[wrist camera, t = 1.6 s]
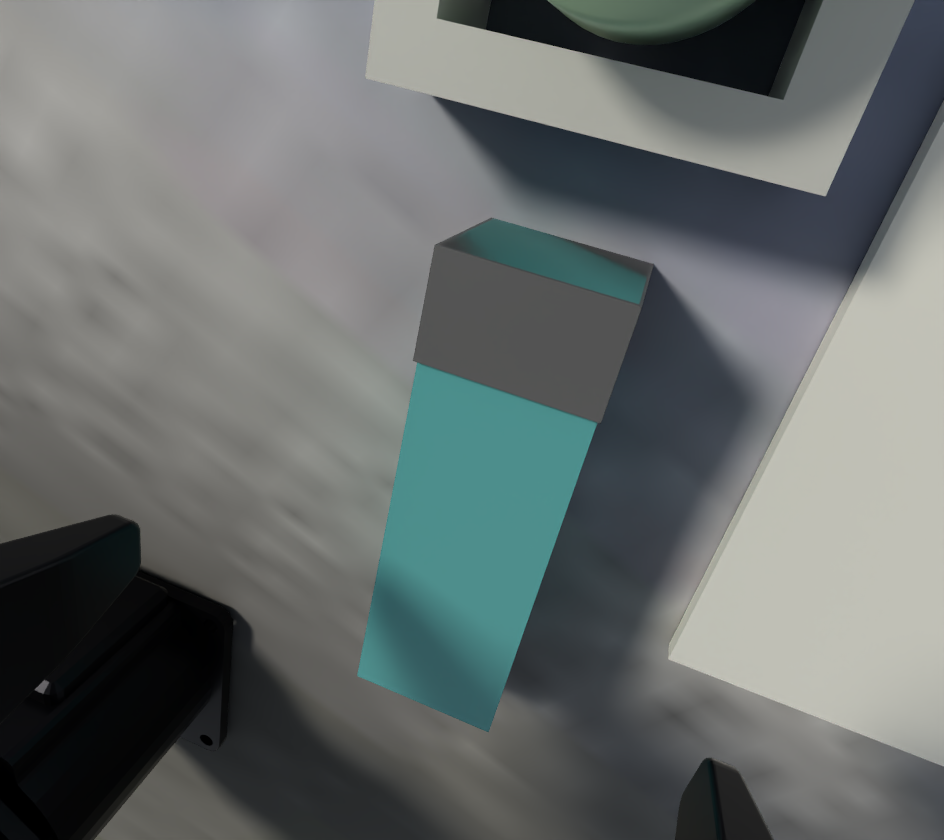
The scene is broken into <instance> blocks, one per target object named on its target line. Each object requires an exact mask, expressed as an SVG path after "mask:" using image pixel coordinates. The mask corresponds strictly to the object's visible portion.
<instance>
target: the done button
mask: <svg viewBox="0 0 944 840" xmlns="http://www.w3.org/2000/svg"><path fill="white" fill-rule="evenodd" d="M547 1H548V2H550V3H551V4H552V5H553V6H554V7H556V8H557V9H558V10H559V11H560V12H562V13H563V14H564V15H565V16H566V17H568V18H569V19H570V20H572V21H573V22H575V23H576V24H577V25H579V26H580V27H582V28H583V29H585V30H587V31H589V32H591V33H593V34H595V35H597V36H599V37H602V38H606V39H609V40H612V41H615V42H619V43H626V44H633V45H659V44H666V43H673V42H677V41H681V40H684V39H688V38H691V37H695V36H697V35H700V34H702V33H704V32H707V31H709V30H711V29H713V28H716V27H717V26H719V25H721V24H723V23H724V22H726V21H728V20H729V19H731V18H733V17H735V16H736V15H737V14H739V13H740V12H741V11H743V10H744V9H745V8H747V7H748V6H749V5H751V4H752V3H753V2H755V1H756V0H547Z"/></svg>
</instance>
